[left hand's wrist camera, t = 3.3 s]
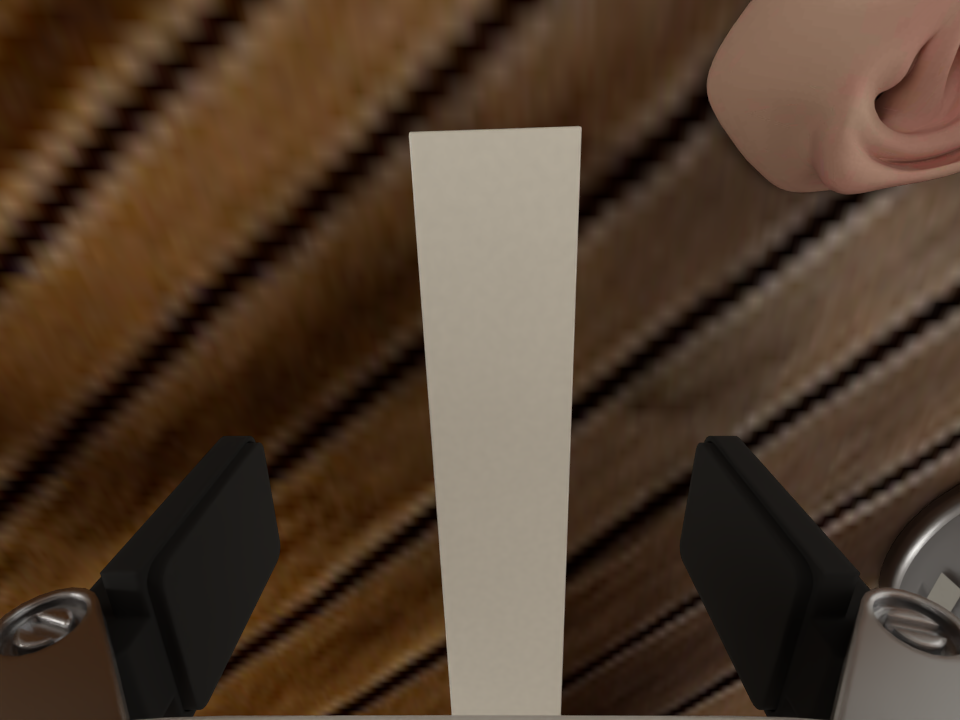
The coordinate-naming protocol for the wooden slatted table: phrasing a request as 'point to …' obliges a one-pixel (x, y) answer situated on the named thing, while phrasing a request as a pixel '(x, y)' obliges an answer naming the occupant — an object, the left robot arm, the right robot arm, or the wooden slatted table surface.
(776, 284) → the wooden slatted table surface
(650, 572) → the wooden slatted table surface
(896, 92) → the anatomical model
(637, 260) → the wooden slatted table surface
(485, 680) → the post
